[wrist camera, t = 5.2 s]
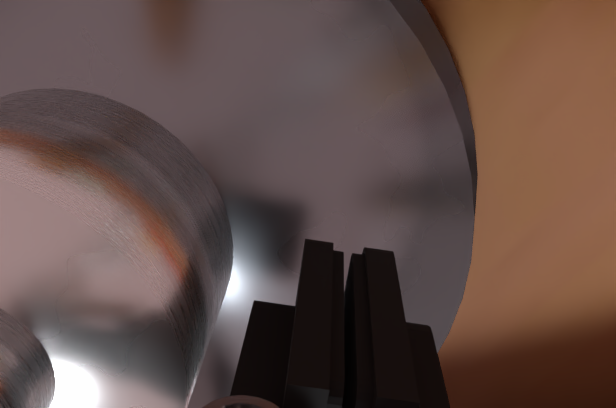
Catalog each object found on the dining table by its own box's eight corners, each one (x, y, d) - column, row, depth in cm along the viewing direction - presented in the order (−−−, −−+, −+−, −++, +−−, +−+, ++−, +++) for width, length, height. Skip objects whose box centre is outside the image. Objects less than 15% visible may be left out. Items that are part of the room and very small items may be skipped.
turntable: (-247, -446, 9) (-1122, -1033, 4) (607, -299, 9) (987, -653, 4) (-100, 391, 16) (-327, 619, 11) (387, 467, 17) (410, 730, 11)
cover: (-95, 64, 11) (-493, 169, 6) (247, 115, 11) (161, 266, 6) (-55, 343, 13) (-301, 588, 8) (221, 383, 13) (146, 652, 8)
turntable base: (-206, -212, 11) (-225, -218, 11) (558, -95, 11) (566, -96, 11) (-94, 388, 17) (-103, 398, 17) (402, 461, 17) (403, 472, 17)
